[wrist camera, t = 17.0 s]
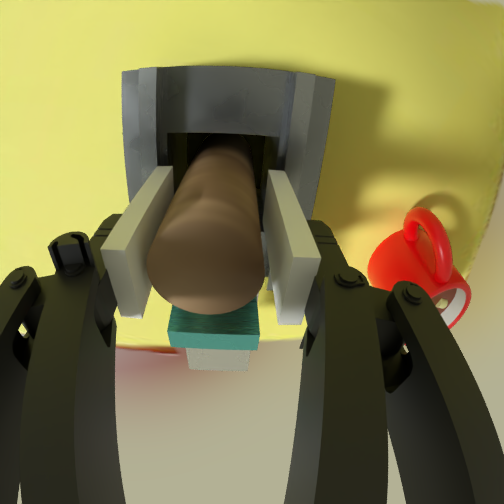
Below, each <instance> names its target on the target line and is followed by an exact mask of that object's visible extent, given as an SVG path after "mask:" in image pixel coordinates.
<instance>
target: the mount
mask: <svg viewBox="0 0 504 504" xmlns="http://www.w3.org/2000/svg"><path fill="white" fill-rule="evenodd" d="M334 88H335V79H331V78H326V77H320V76H316V75H315V74H309V73H303V72H290V71H282V70H273V69H264V68H252V67H236V66H176V67H149V68H140V69H139V70H130V71H123V72H122V124H123V142H124V156H125V167H126V177H127V186H128V195H129V202H131V201H132V200H133V198H134V197H135V195H136V194H137V193H138V191H139V190H140V188H141V187H142V186H143V184H144V183H145V182H146V180H147V179H148V178H149V176H150V175H151V174H152V172H153V171H154V170H155V168H156V167H157V166H173V183H174V195H175V193H176V191H177V189H178V187H179V185H180V183H181V181H182V179H183V177H184V175H185V173H186V171H187V133H231V134H249V135H263V136H266V138H265V148H264V157H263V167H262V176H261V186H260V189H256V195H257V203H258V212H259V221H260V230H261V239H262V249H263V258H264V267H265V282H266V290H273V286H272V279H271V272H270V266H269V259H268V253H267V246H266V240H265V234H264V227H263V212H264V204H265V195H266V186H267V178H268V170H280V171H285V173H286V175H287V177H288V179H289V182H290V184H291V186H292V188H293V191H294V193H295V195H296V198H297V200H298V202H299V205H300V207H301V209H302V212H303V214H304V216H305V219H306V220H311V216H312V212H313V207H314V202H315V197H316V192H317V187H318V182H319V177H320V172H321V166H322V161H323V155H324V150H325V144H326V138H327V133H328V127H329V120H330V114H331V108H332V101H333V94H334Z"/></svg>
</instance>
